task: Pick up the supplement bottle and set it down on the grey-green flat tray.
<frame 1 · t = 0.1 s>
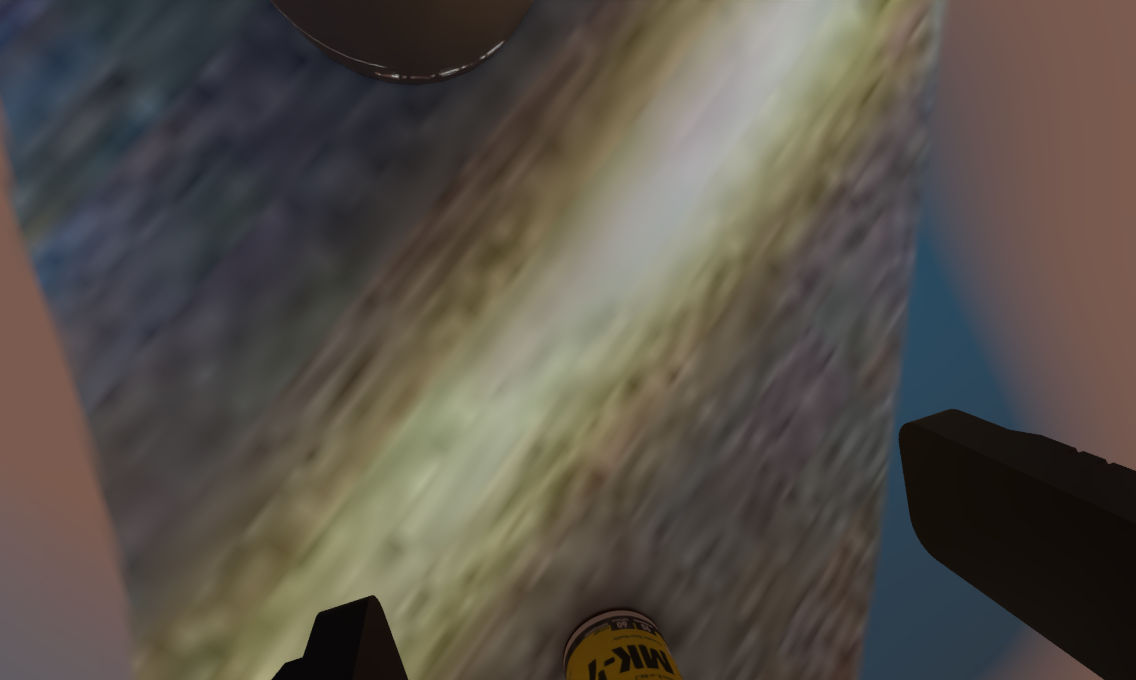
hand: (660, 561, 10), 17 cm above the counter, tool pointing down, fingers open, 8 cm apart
supplement bottle: (610, 648, 31), on the counter
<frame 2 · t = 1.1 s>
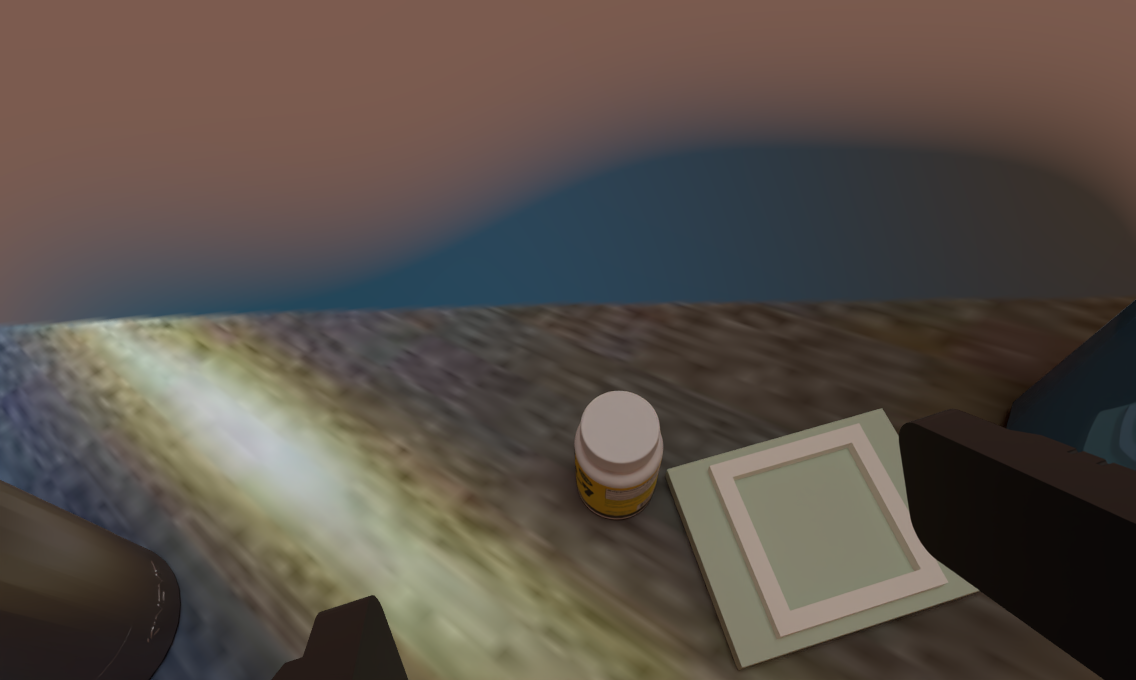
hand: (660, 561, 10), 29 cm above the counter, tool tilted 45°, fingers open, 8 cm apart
wine bottle: (1104, 480, 40), on the counter
grey-green flat tray: (812, 531, 39), on the counter
supplement bottle: (615, 483, 41), on the counter
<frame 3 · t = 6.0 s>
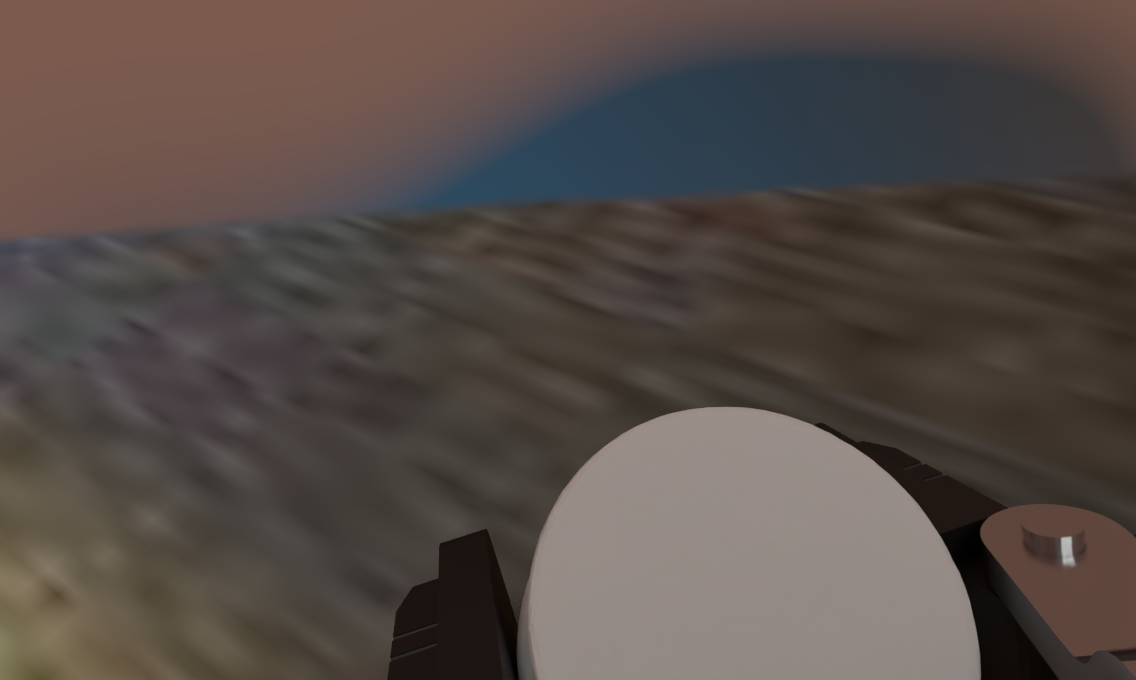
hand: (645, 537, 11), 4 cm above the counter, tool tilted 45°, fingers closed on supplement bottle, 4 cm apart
when the fingers open (7 cm above the counter, at t = 10.5 s): supplement bottle drops 2 cm, resting on grey-green flat tray.
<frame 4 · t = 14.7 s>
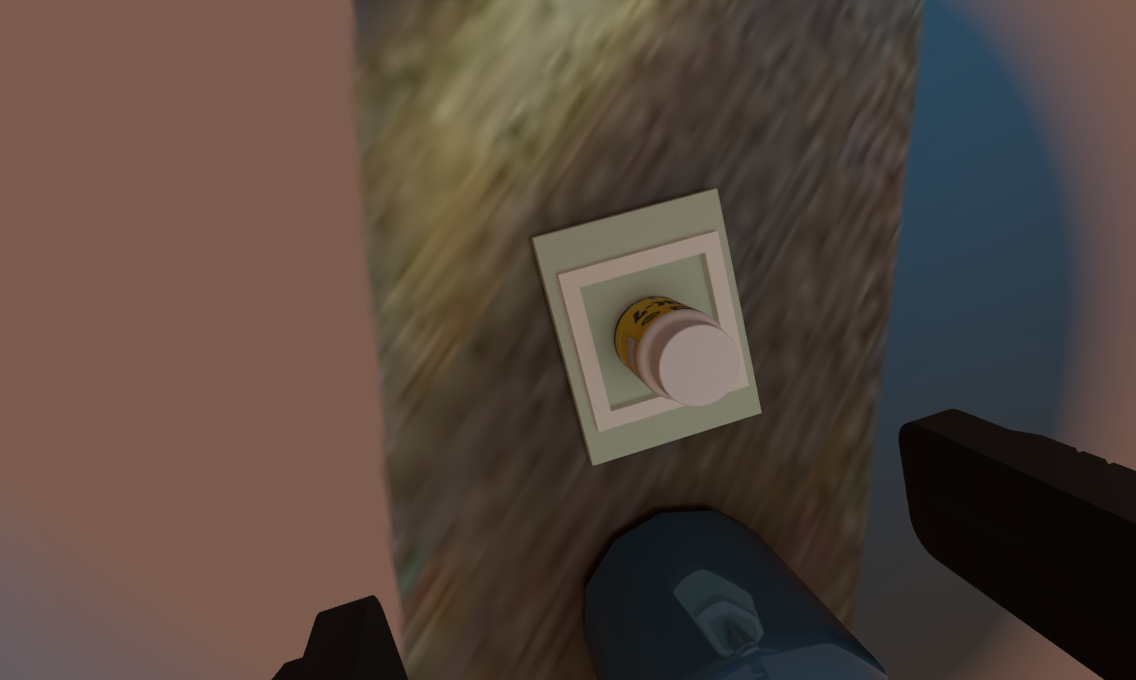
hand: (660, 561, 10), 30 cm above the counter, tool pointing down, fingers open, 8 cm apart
wine bottle: (678, 591, 45), on the counter
grey-green flat tray: (647, 327, 41), on the counter
supplement bottle: (649, 333, 40), point 1 cm above the counter, touching grey-green flat tray
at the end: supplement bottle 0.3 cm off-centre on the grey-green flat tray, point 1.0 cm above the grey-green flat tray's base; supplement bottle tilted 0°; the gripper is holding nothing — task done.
